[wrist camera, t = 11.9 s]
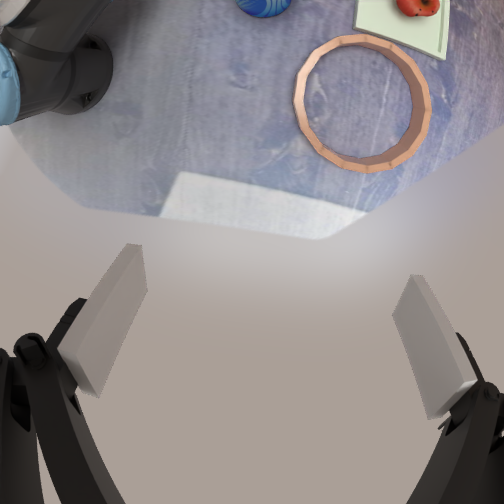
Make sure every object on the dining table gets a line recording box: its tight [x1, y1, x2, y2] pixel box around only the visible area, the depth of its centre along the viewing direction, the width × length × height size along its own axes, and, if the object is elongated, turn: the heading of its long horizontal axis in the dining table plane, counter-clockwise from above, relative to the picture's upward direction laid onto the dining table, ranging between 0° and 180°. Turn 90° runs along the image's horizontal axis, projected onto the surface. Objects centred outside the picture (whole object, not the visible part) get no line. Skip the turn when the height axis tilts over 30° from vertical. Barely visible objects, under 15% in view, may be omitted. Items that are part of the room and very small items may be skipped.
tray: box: [352, 0, 450, 61], centre depth 29 cm, size 16×16×2 cm
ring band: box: [292, 34, 432, 173], centre depth 38 cm, size 21×21×4 cm
